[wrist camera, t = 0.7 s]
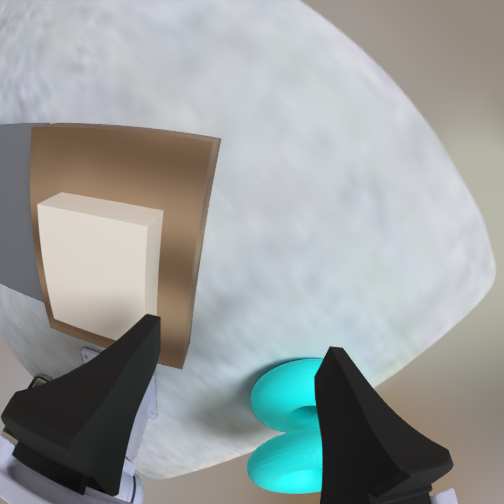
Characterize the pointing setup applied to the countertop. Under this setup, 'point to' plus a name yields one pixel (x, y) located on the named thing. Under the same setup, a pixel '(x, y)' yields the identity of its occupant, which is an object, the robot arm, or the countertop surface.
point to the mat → (17, 212)
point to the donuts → (288, 429)
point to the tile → (100, 261)
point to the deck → (135, 193)
